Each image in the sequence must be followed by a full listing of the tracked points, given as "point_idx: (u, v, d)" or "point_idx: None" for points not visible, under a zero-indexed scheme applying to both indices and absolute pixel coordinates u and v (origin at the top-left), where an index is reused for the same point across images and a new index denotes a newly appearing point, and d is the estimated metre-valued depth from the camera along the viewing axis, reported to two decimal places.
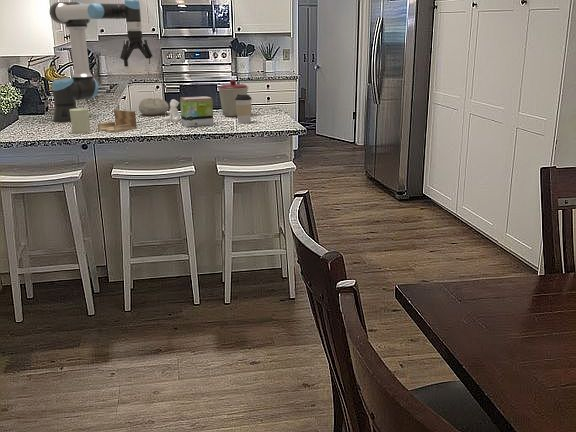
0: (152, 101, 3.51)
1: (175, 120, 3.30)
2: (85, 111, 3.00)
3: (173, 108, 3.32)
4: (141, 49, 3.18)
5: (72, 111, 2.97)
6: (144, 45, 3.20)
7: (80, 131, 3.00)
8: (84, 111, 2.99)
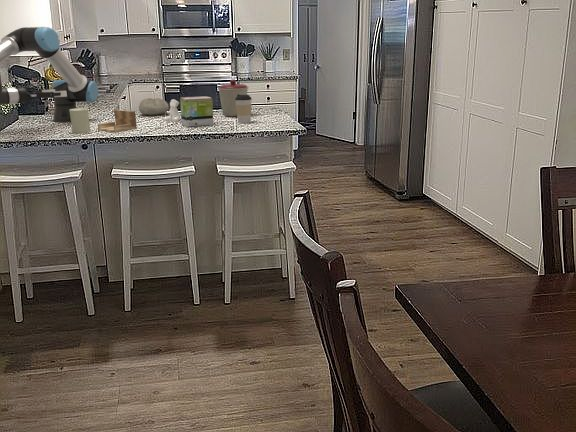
0: (152, 101, 3.51)
1: (175, 120, 3.30)
2: (85, 111, 3.00)
3: (173, 108, 3.32)
4: None
5: (72, 111, 2.97)
6: None
7: (80, 131, 3.00)
8: (84, 111, 2.99)
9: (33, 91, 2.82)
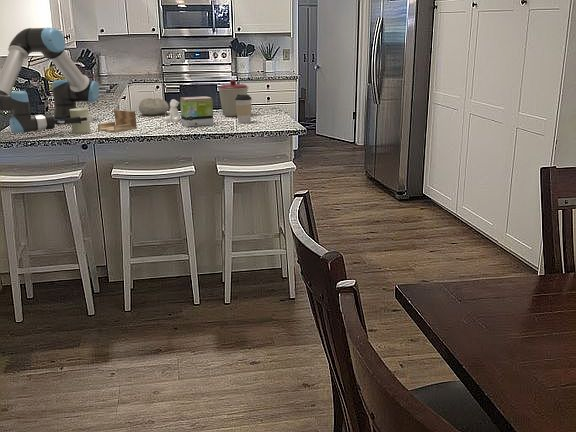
0: (152, 101, 3.51)
1: (175, 120, 3.30)
2: (85, 111, 3.00)
3: (173, 108, 3.32)
4: None
5: (72, 111, 2.97)
6: None
7: (80, 131, 3.00)
8: (84, 111, 2.99)
9: (60, 117, 2.94)
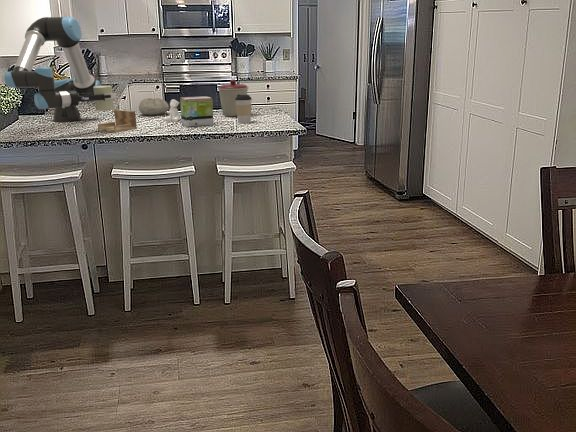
0: (152, 101, 3.51)
1: (175, 120, 3.30)
2: (109, 88, 2.98)
3: (173, 108, 3.32)
4: None
5: (96, 88, 2.96)
6: None
7: (104, 108, 2.99)
8: (108, 88, 2.97)
9: (84, 94, 2.93)
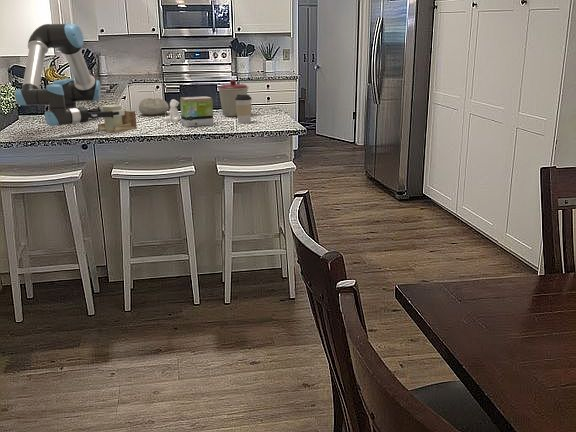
0: (152, 101, 3.51)
1: (175, 120, 3.30)
2: (118, 107, 3.03)
3: (173, 108, 3.32)
4: None
5: (105, 107, 3.01)
6: None
7: (113, 127, 3.03)
8: (117, 107, 3.02)
9: (93, 111, 2.96)
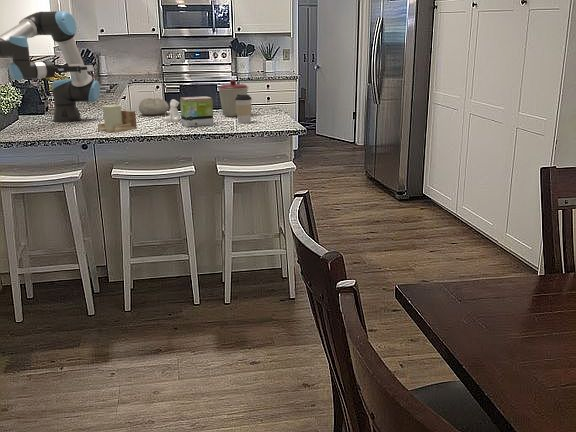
0: (152, 101, 3.51)
1: (175, 120, 3.30)
2: (118, 107, 3.03)
3: (173, 108, 3.32)
4: None
5: (105, 107, 3.01)
6: None
7: (113, 127, 3.03)
8: (117, 107, 3.02)
9: (60, 65, 2.86)
